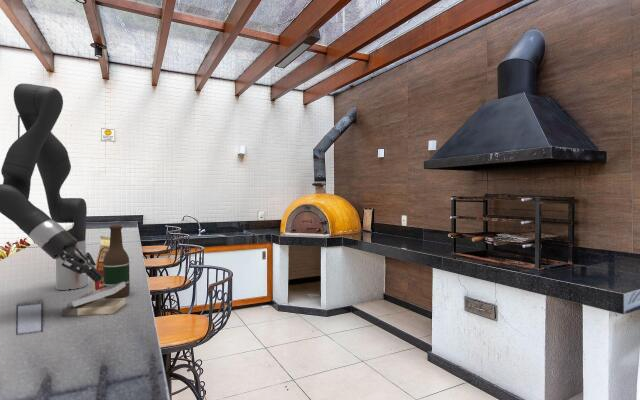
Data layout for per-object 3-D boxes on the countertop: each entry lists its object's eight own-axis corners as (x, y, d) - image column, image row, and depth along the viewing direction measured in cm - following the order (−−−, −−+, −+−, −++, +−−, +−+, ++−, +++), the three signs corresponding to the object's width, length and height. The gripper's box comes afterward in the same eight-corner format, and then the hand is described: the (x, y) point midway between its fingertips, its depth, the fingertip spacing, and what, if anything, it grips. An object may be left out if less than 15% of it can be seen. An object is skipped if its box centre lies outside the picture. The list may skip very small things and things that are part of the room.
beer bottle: (134, 294, 124) (134, 224, 124) (113, 300, 117) (112, 226, 117) (119, 292, 128) (118, 224, 127) (98, 297, 121) (97, 225, 120)
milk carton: (93, 296, 123) (92, 237, 123) (95, 290, 131) (94, 234, 131) (123, 292, 127) (123, 235, 127) (124, 286, 135) (123, 233, 135)
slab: (66, 303, 102) (112, 288, 104) (82, 294, 111) (124, 281, 113) (68, 308, 102) (114, 293, 104) (83, 299, 111) (125, 286, 113)
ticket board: (61, 316, 102) (61, 309, 102) (77, 306, 111) (77, 300, 111) (113, 313, 104) (113, 306, 104) (125, 304, 113) (125, 297, 113)
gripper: (56, 246, 110) (100, 284, 112) (28, 251, 97) (79, 294, 99) (75, 228, 111) (118, 266, 113) (50, 231, 98) (100, 274, 100)
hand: (100, 279), depth 106 cm, fingers closed
